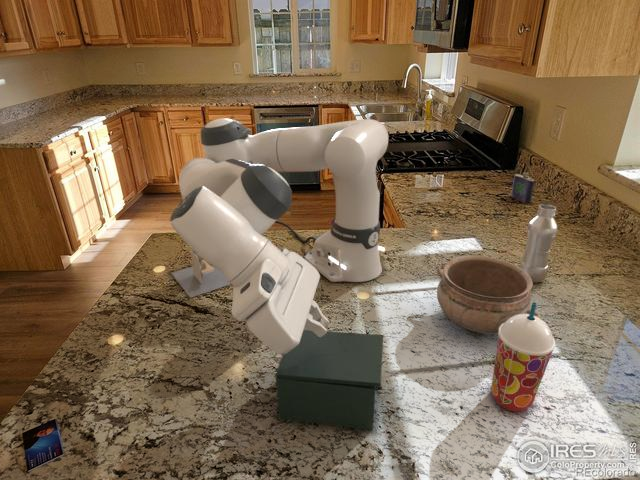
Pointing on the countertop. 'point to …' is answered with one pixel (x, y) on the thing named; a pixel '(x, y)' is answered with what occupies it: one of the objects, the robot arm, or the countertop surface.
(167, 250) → the countertop surface
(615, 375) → the countertop surface
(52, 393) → the countertop surface
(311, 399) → the bin
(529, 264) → the plastic bottle
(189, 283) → the architectural model
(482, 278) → the cooking pot
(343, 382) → the bin lid
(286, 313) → the robot arm
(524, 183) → the flask
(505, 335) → the smoothie
